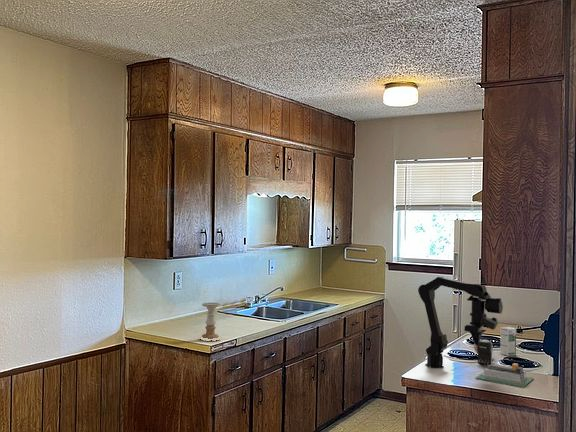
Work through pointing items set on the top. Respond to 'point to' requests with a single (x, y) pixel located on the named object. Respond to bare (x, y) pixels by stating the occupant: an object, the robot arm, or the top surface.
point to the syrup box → (508, 341)
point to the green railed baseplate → (505, 376)
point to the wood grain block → (514, 367)
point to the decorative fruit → (476, 347)
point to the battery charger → (485, 352)
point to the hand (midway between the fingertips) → (477, 345)
